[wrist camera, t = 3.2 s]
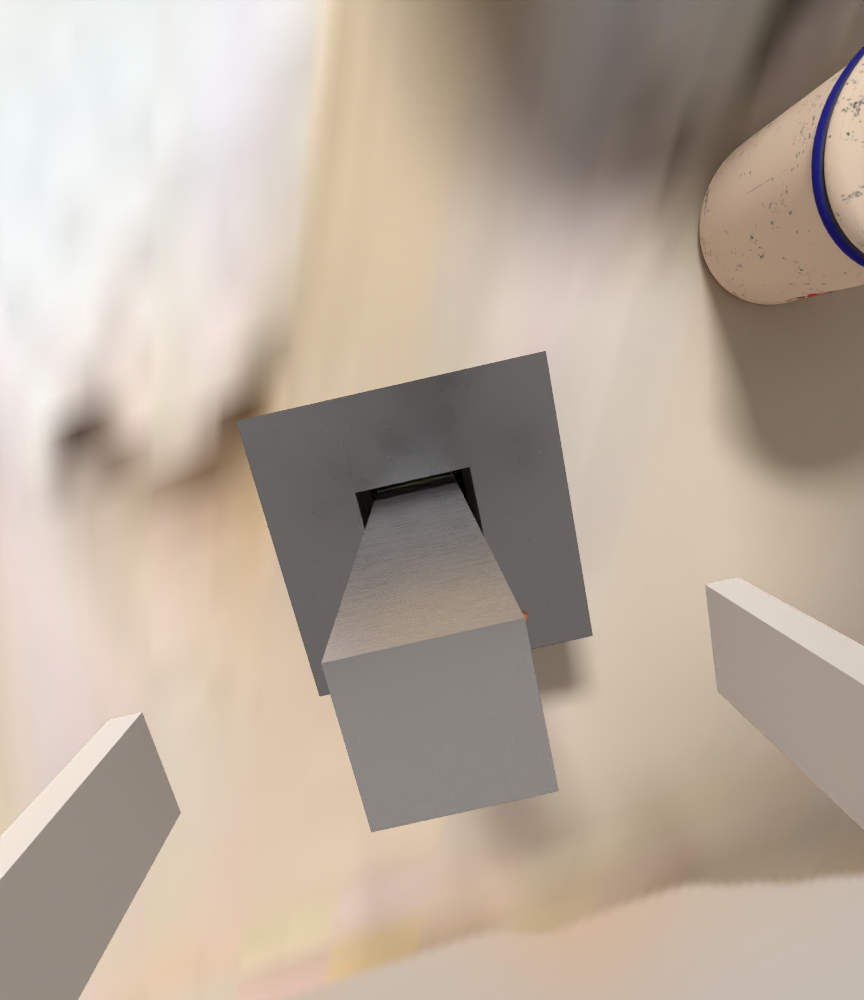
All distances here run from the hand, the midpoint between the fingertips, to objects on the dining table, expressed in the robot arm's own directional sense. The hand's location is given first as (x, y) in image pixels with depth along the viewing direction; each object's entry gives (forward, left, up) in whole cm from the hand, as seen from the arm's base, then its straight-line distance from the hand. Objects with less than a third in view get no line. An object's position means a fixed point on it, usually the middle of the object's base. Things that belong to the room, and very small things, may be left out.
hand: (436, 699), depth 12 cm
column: (0, 0, -19) cm, 19 cm away
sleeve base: (0, 0, -19) cm, 19 cm away
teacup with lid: (-12, +23, -19) cm, 32 cm away
